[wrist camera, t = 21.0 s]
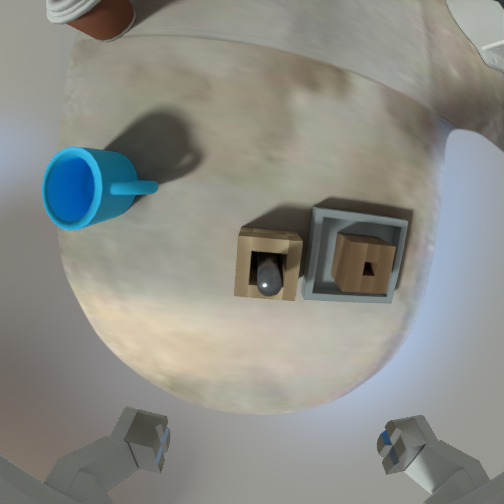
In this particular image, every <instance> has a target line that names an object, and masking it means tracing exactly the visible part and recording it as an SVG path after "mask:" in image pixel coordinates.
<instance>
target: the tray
mask: <svg viewBox="0 0 504 504" xmlns="http://www.w3.org/2000/svg"><path fill="white" fill-rule="evenodd" d="M407 226H408V221H407V220H404V219H401V218H396V217H389V216H383V215H376V214H369V213H362V212H355V211H347V210H340V209H332V208H324V207H315V206H313V207H312V216H311V224H310V233H309V240H308V248H307V256H306V263H305V270H304V277H303V283H302V290H301V293H302V296H303V298H304V300H320V301H339V302H361V303H391V302H392V298H393V294H394V290H395V286H396V282H397V278H398V273H399V269H400V264H401V259H402V254H403V249H404V244H405V238H406V232H407ZM337 232H341V233H350V234H359V235H368V236H376V237H379V238H381V239H382V240H384V241H386V242H388V243H390V244H392V245H393V246H395V247H396V249H395V255H394V260H393V264H392V269H391V274H390V278H389V283H388V287H387V291H386V294H381V293H361V292H342V290H341V289H340V288H339V286H338V285H337V283H336V282H335V281H334V279H333V278H332V276H331V269H332V263H333V257H334V250H335V244H336V237H337Z"/></svg>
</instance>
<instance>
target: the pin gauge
mask: <svg viewBox="0 0 504 504" xmlns="http://www.w3.org/2000/svg"><path fill="white" fill-rule="evenodd" d="M257 287H258V290H259V292H260V293H261V294H262V295H264V296H268V297H271V296H275V295H277V294H278V293H279V292H280V290H281V288H282V282H281V277H280V273H279V268H278V263H277V259H276V254H275V253H271V252H260V251H259V253H258V274H257Z"/></svg>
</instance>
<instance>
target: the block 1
mask: <svg viewBox="0 0 504 504" xmlns="http://www.w3.org/2000/svg"><path fill="white" fill-rule="evenodd" d="M302 246H303V241H302V239H301V238H300V237H299V235H298V234H297V232H293V231H283V230H272V229H261V228H250V227H241V230H240V233H239V236H238V248H237V261H236V276H235V290H234V296H240V297H251V298H263V299H276V300H290V301H295V296H296V290H297V283H298V276H299V269H300V261H301V254H302ZM251 251H260V252H271V253H282V257H281V266H280V271H279V273H280V277H281V282H282V288H281V290H280V292H279V293H278V294H277V295H275V296H271V297H268V296H264V295H262V294H261V293H260V292H259V290H258V287H257V274H258V270H257V269H250V262H251Z"/></svg>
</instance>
